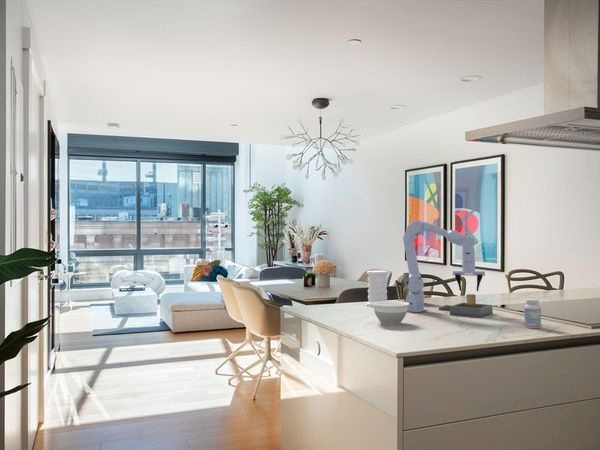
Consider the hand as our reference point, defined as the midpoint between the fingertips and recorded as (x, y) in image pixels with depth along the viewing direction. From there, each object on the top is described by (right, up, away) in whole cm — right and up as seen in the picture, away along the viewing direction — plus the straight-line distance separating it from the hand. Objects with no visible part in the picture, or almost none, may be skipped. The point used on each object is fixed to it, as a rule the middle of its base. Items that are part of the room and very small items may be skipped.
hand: (468, 290), depth 260 cm
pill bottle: (+13, -10, -40) cm, 43 cm away
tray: (0, -10, -4) cm, 11 cm away
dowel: (0, -9, -4) cm, 10 cm away
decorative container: (-39, -11, +29) cm, 50 cm away
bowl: (-41, -11, -26) cm, 50 cm away
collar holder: (-6, -11, +11) cm, 16 cm away
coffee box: (-19, -11, +38) cm, 44 cm away
